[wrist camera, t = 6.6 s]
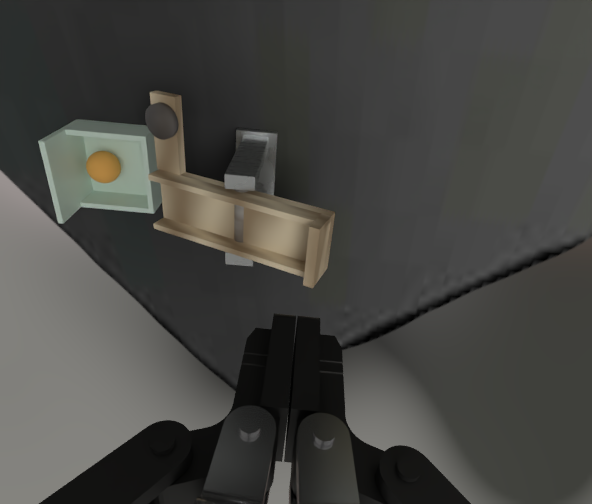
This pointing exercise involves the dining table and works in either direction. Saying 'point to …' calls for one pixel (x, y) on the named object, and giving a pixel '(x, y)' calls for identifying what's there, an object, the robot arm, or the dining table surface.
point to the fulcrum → (252, 169)
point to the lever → (233, 207)
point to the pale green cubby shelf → (86, 191)
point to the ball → (103, 167)
